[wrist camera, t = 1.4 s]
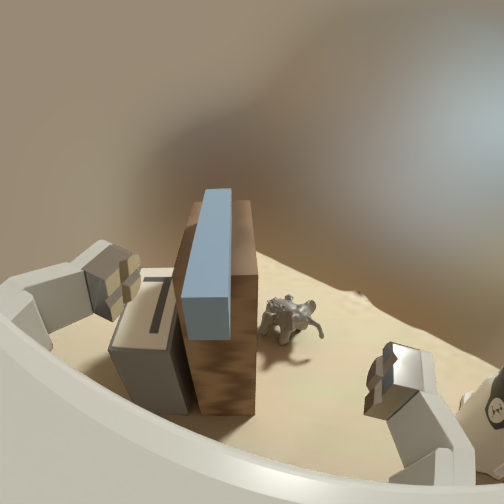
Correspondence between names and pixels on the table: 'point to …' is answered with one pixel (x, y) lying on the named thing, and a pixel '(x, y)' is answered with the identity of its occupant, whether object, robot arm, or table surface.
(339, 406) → the table surface
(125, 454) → the robot arm
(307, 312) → the gray elephant figurine
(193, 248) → the blue bar
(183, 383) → the stand
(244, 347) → the walnut stand
